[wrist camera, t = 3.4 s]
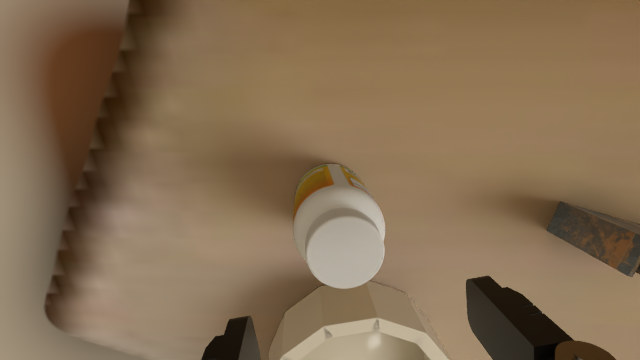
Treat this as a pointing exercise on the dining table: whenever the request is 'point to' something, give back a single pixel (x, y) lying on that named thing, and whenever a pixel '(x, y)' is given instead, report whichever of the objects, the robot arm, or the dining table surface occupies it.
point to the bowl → (356, 327)
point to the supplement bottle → (338, 227)
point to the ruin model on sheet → (599, 236)
